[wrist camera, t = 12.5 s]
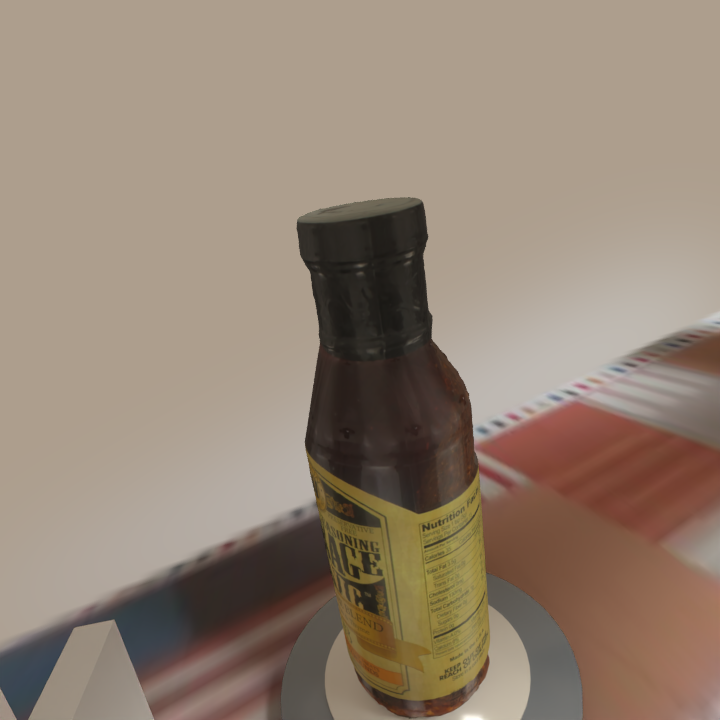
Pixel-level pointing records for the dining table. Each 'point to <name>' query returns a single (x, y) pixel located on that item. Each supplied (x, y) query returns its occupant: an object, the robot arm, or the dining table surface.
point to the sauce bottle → (394, 463)
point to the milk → (5, 709)
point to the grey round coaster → (495, 694)
